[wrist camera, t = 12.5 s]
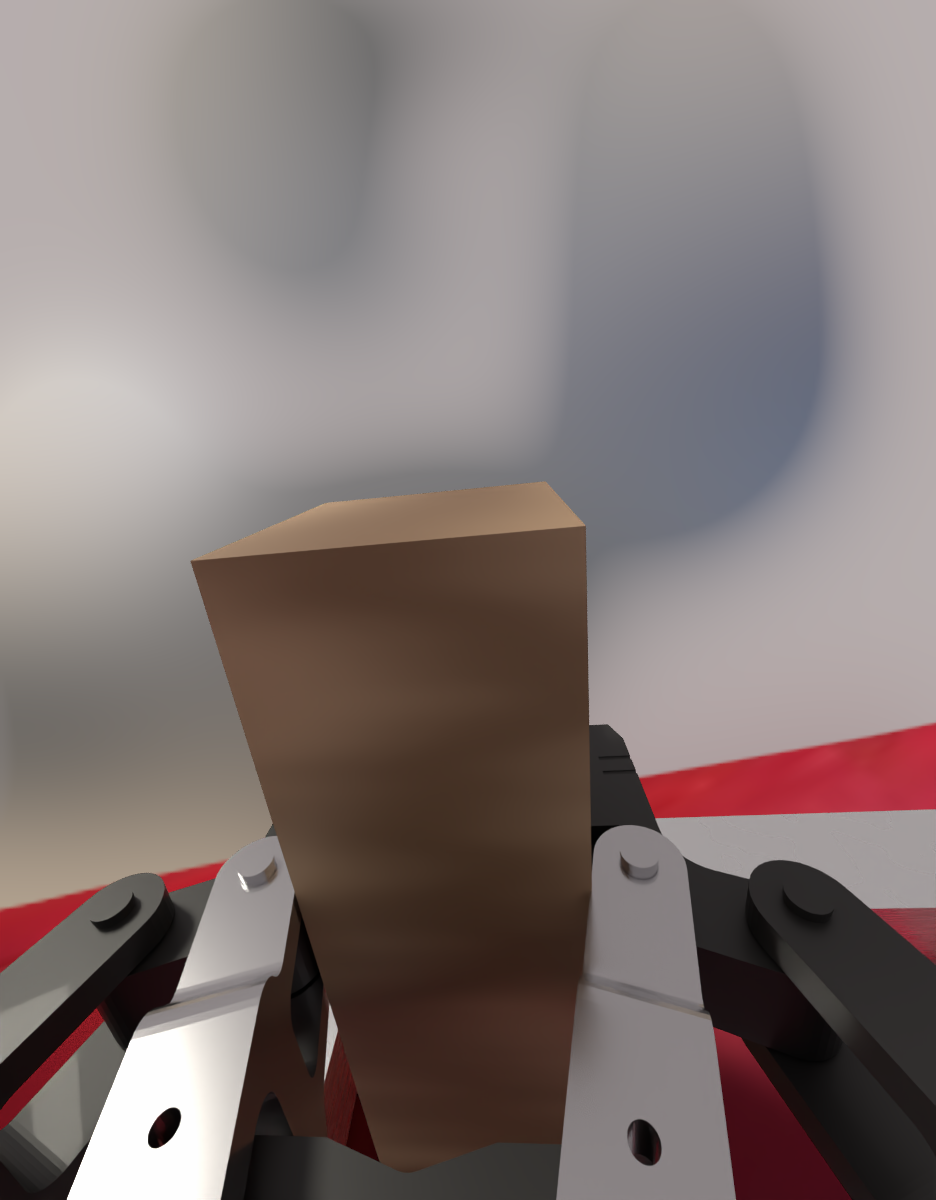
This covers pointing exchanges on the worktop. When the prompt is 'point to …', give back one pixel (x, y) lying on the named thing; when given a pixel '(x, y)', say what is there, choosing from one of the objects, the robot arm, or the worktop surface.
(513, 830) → the walnut post
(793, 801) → the worktop surface
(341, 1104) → the keyhole plate
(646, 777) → the worktop surface
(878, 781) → the worktop surface
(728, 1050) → the worktop surface
